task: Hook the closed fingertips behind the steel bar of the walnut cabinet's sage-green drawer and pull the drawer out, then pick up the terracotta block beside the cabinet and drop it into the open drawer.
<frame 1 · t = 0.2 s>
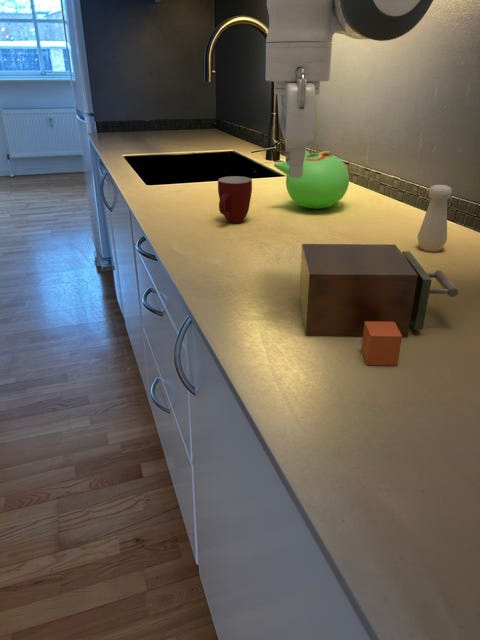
hand: (293, 170, 76), 21 cm above the worktop, tool pointing down, fingers open, 8 cm apart
mug: (233, 223, 124), on the worktop
toy bird: (313, 207, 137), on the worktop
drawer: (387, 288, 77), point 5 cm above the worktop, slide at 1.0 cm
cabinet: (349, 316, 79), on the worktop
block: (378, 357, 68), on the worktop
salt shaker: (430, 249, 107), on the worktop
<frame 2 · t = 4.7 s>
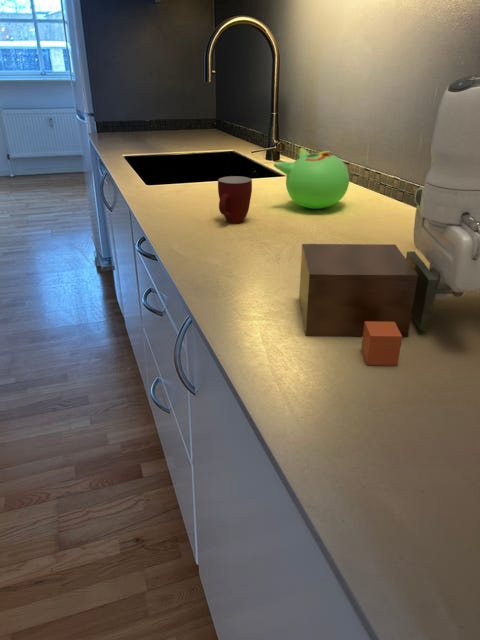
hand: (437, 295, 77), 4 cm above the worktop, tool pointing down, fingers closed
drawer: (392, 288, 77), point 5 cm above the worktop, slide at 1.8 cm
everything else where it was.
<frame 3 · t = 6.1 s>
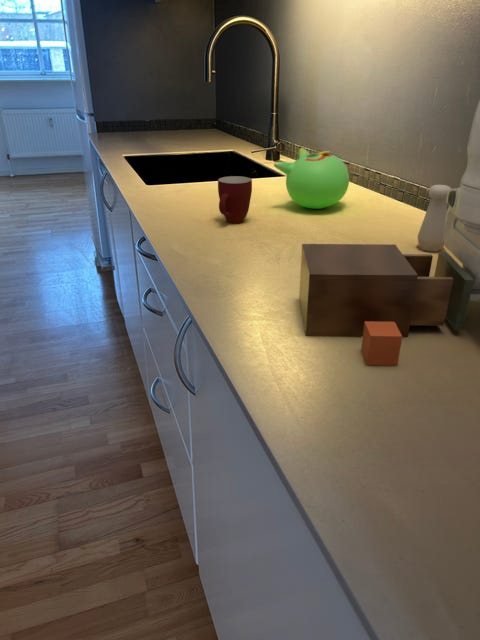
hand: (470, 296, 77), 4 cm above the worktop, tool pointing down, fingers closed
drawer: (425, 288, 77), point 5 cm above the worktop, slide at 6.7 cm
everything else where it was.
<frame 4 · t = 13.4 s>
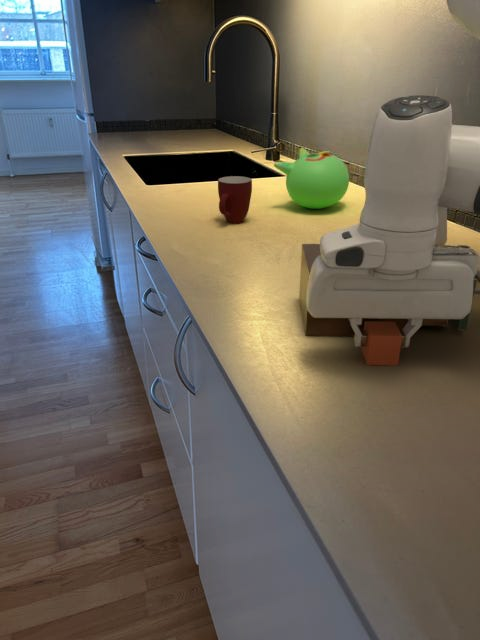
hand: (380, 344, 67), 2 cm above the worktop, tool pointing down, fingers closed on block, 4 cm apart
drawer: (428, 288, 77), point 5 cm above the worktop, slide at 7.1 cm
block: (379, 357, 68), on the worktop, touching gripper
everything else where it was.
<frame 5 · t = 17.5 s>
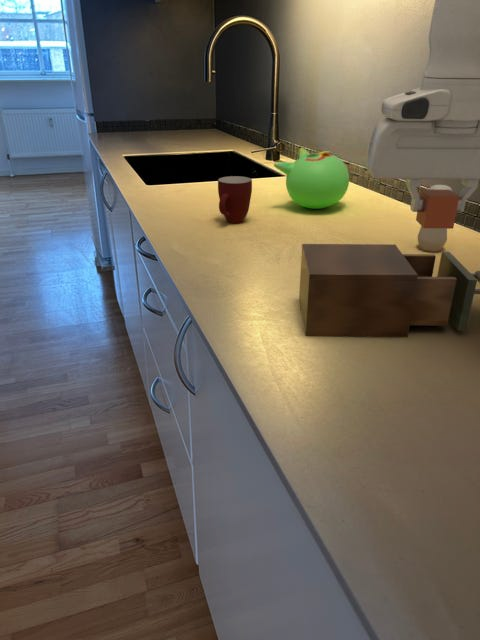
hand: (436, 211, 71), 17 cm above the worktop, tool pointing down, fingers closed on block, 4 cm apart
block: (434, 224, 72), point 15 cm above the worktop, touching gripper
everything else where it was.
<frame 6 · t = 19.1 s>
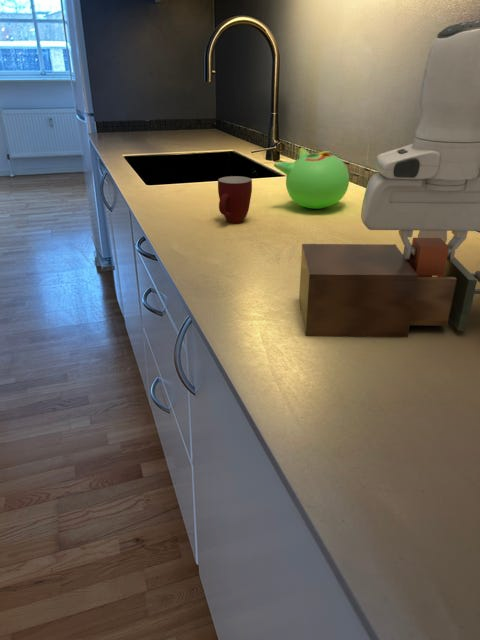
hand: (427, 258, 74), 10 cm above the worktop, tool pointing down, fingers closed on block, 4 cm apart
block: (425, 270, 75), point 8 cm above the worktop, touching gripper
everything else where it was.
when the fingers open (7 cm above the worktop, at t = 21.5 s): block drops 4 cm, resting on drawer.
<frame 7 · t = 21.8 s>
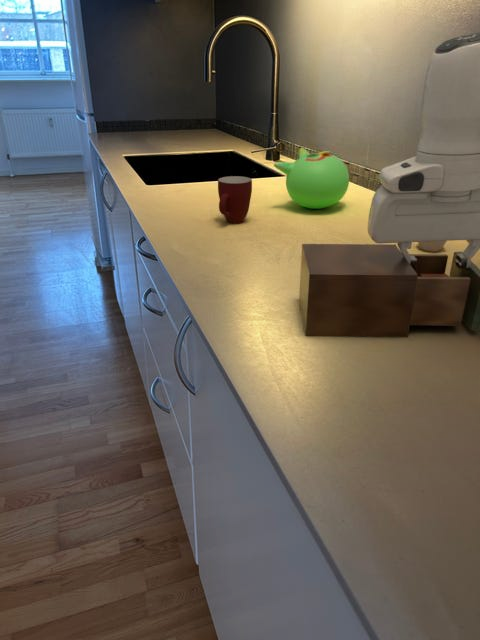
hand: (435, 268, 75), 8 cm above the worktop, tool pointing down, fingers open, 6 cm apart
drawer: (441, 289, 76), point 5 cm above the worktop, slide at 9.0 cm, touching block, gripper
block: (432, 305, 78), point 2 cm above the worktop, touching drawer
everything else where it was.
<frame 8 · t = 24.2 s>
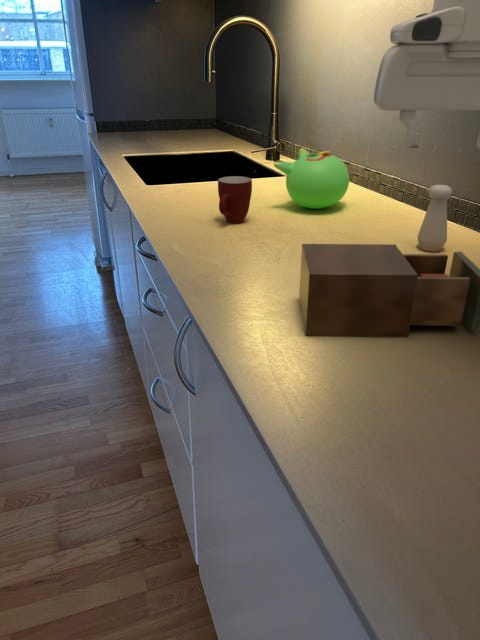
hand: (447, 147, 67), 25 cm above the worktop, tool pointing down, fingers open, 8 cm apart
drawer: (441, 289, 76), point 5 cm above the worktop, slide at 9.0 cm, touching block
everything else where it was.
at the end: drawer slide at 9.0 cm; block inside the target area in the cabinet (7.9 cm from its centre), point 2.0 cm above the cabinet's base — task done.
